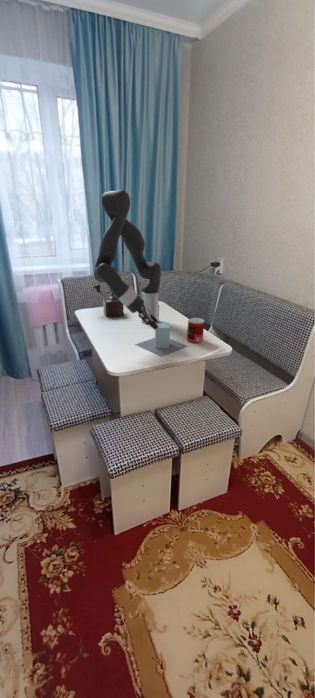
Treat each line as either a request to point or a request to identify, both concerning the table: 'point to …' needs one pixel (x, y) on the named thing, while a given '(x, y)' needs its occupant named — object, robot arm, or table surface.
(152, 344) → the mat
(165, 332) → the light blue tall box
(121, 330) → the table surface
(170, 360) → the table surface
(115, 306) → the pepper mill
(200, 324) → the canned food
